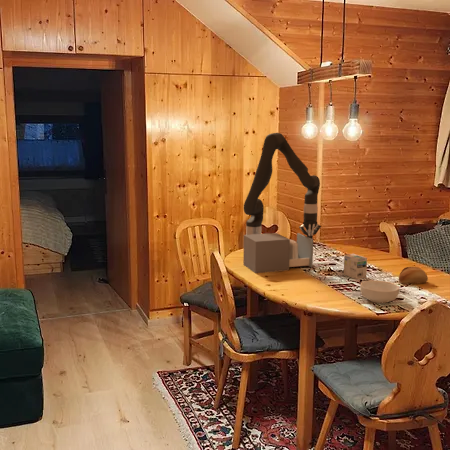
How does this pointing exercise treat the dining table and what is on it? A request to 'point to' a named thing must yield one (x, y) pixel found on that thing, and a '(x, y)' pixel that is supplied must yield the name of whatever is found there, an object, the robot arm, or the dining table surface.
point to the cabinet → (266, 252)
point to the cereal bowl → (379, 291)
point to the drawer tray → (303, 252)
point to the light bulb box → (355, 266)
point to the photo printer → (293, 250)
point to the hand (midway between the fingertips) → (309, 242)
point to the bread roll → (413, 275)
